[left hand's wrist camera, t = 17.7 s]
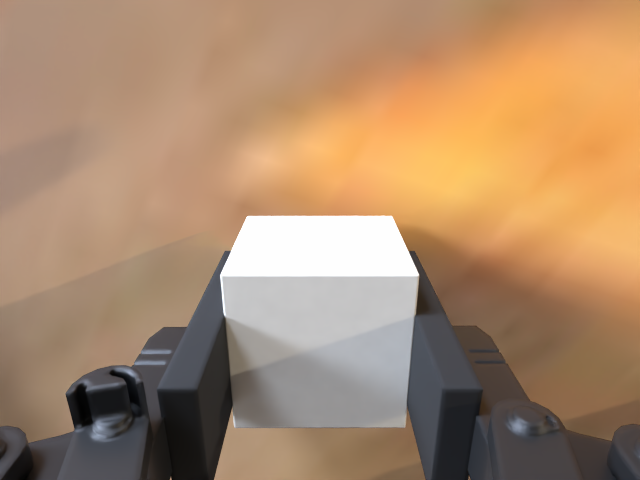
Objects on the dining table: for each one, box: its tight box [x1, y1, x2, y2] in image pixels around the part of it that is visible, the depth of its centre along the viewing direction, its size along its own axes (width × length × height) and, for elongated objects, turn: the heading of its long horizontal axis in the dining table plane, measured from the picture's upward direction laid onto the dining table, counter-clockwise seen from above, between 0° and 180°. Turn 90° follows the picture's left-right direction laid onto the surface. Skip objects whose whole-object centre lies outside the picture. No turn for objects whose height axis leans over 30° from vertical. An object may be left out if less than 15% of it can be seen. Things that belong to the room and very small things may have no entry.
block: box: [220, 216, 419, 428], centre depth 13 cm, size 5×5×4 cm
